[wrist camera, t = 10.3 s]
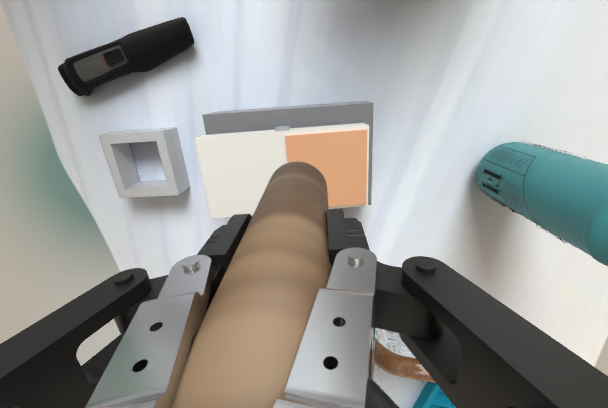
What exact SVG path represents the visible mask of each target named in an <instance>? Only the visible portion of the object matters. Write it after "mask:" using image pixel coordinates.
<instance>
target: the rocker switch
mask: <svg viewBox="0 0 608 408" xmlns="http://www.w3.org/2000/svg"><path fill="white" fill-rule="evenodd" d="M195 143H196V148H197V153H198V158H199V162H200V167H201V172H202V177H203V182H204V186H205V191H206V196H207V201H208V205H209V210H210V215H211V218H223V217H232V216H233V215H235V214H250V215H253V214H254V212H255V210H256V208H257V206H258V204H259V201H260V199H261V197H262V195H263V193H264V191H265V189H266V187H267V185H268V183H269V181H270V178H271V176H272V175H273V173H274V172H275V171H276V170H277V169H278V168H279V167H280V166H282V165H284V164H286V163H290V162H305V163H308V164H311V165H312V166H314V167H315V168H317V169H318V170H319V171H320V172H321V173H322V175H323V176H324V178H325V180H326V184H327V192H328V206H329V209H336V208H348V207H361V206H368V168H369V125H367V124H365V123H355V124H342V125H329V126H316V127H303V128H290V127H289V126H277V127H275V130H263V131H250V132H237V133H223V134H210V135H201V136H199V137H197V138H195Z"/></svg>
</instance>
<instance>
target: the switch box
mask: <svg viewBox="0 0 608 408" xmlns="http://www.w3.org/2000/svg"><path fill="white" fill-rule="evenodd" d="M203 121H204V126H205V131H206V135H210V134H223V133H237V132H250V131H263V130H275V127H277V126H289V127H290V128H303V127H316V126H329V125H342V124H355V123H365V124H367V125H369V168H368V205H371V182H372V134H373V103H371V102H366V101H361V102H347V103H333V104H319V105H305V106H291V107H277V108H262V109H248V110H234V111H220V112H215V113H210V114H204V115H203Z"/></svg>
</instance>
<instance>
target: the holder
mask: <svg viewBox="0 0 608 408" xmlns="http://www.w3.org/2000/svg"><path fill="white" fill-rule="evenodd" d="M99 138H100V141H101V144H102V147H103V150H104V153H105V156H106V159H107V162H108V165H109V168H110V171H111V174H112V177H113V180H114V183H115V186H116V189H117V192H118V195H119V198H131V197H152V196H173V195H180V194H181V193H183V192H184V191H185V190H187V189H188V188H189V187H190V184H189V180H188V175H187V171H186V167H185V162H184V158H183V154H182V149H181V145H180V141H179V136H178V132H177V128H162V129H147V130H132V131H117V132H112V133H107V134H102V135H99ZM149 141H156V142H157V146H158V150H159V154H160V158H161V161H162V165H163V169H164V173H165V177H166V180H165V181H145V182H140V178H139V175H138V172H137V168H136V165H135V162H134V158H133V155H132V151H131V148H130V145H129V143H134V142H149Z"/></svg>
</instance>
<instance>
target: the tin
mask: <svg viewBox="0 0 608 408" xmlns="http://www.w3.org/2000/svg"><path fill="white" fill-rule="evenodd" d="M374 363H375V364H376V365H378V366H379V367H380V368H382V369H383V370H385V371H387V372H389V373H391V374H394V375H397V376H401V377H407V378H412V379H417V380H423V381H429V382H434V383H436V382H435V381H434V380H433V379H432V377H431V376H430V375H429V374H428V372H427V371H426V370H425V369H424V367H423V366H422V365H421V364H420V362H419V361H418V360H417V359H416V357H415V356H414V355H413V354H412V353H411V351H410V350H409V349H408V348H407V346H406V345H405V344H404V343H403V341H402V340H401V338H400V336H399V333H396V332H391V331H387V330H383V329H379V328H376V331H375V349H374Z"/></svg>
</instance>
